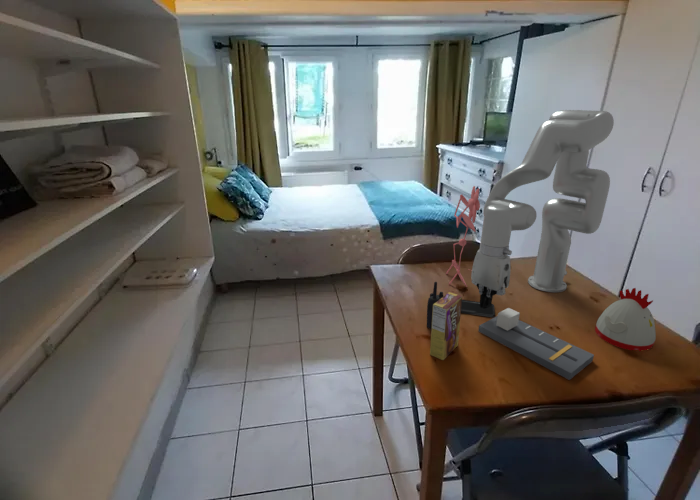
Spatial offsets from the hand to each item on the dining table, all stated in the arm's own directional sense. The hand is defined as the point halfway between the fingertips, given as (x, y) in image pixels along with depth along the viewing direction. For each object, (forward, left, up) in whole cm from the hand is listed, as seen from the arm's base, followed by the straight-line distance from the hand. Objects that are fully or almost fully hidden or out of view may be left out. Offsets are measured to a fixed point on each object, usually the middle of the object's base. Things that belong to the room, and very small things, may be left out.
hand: (484, 306), depth 116 cm
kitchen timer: (-25, +28, -6) cm, 39 cm away
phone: (-3, -8, -6) cm, 10 cm away
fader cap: (0, +7, -3) cm, 8 cm away
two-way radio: (+14, -8, -5) cm, 16 cm away
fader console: (0, +15, -5) cm, 16 cm away
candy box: (+21, +2, -5) cm, 21 cm away
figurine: (-19, -22, -5) cm, 30 cm away
